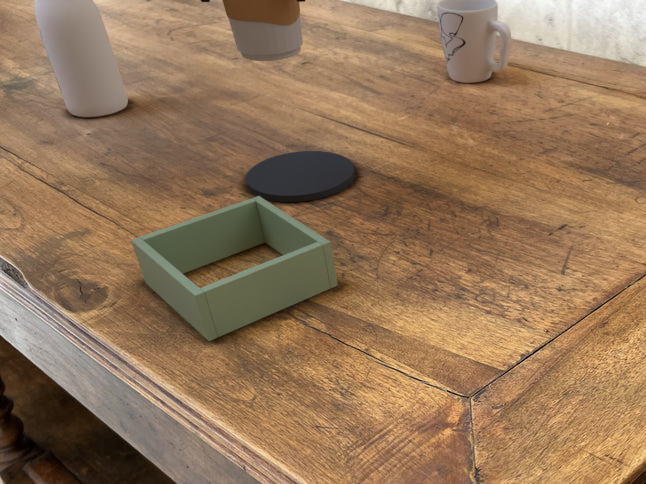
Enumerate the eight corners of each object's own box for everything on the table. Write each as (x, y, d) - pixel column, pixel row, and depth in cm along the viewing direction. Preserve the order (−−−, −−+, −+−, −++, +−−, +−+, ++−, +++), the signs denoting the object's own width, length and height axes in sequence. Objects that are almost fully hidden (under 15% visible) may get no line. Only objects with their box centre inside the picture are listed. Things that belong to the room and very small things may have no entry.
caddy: (145, 283, 73) (130, 239, 70) (268, 237, 80) (258, 195, 77) (209, 341, 66) (194, 295, 63) (338, 285, 72) (330, 241, 70)
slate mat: (227, 178, 91) (226, 171, 90) (318, 148, 97) (317, 142, 96) (282, 213, 84) (280, 206, 83) (375, 179, 90) (375, 172, 89)
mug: (526, 77, 117) (527, 4, 110) (492, 94, 111) (490, 17, 105) (465, 63, 122) (462, -8, 116) (429, 78, 117) (424, 5, 110)
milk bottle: (141, 104, 109) (91, -60, 97) (91, 122, 104) (32, -48, 92) (106, 95, 113) (53, -65, 100) (56, 111, 108) (-6, -55, 95)
